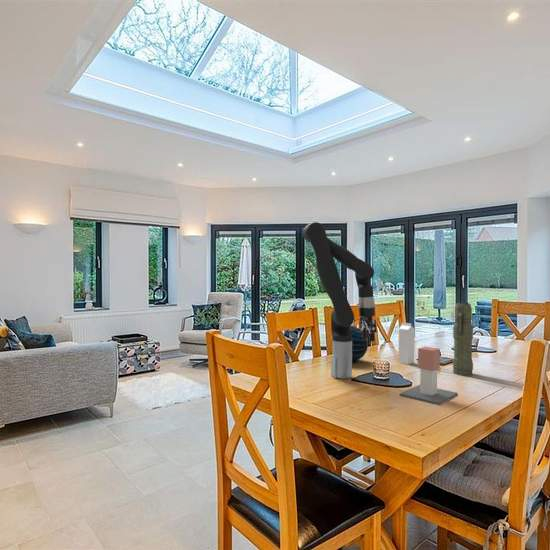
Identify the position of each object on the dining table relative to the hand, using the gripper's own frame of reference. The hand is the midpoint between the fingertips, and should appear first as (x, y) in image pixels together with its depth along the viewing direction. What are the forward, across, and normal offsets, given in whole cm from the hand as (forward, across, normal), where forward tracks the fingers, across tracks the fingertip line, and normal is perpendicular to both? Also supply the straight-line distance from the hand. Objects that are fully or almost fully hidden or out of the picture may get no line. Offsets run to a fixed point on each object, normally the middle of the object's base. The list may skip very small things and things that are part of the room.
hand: (368, 339), depth 190 cm
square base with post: (+18, +33, +10) cm, 39 cm away
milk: (+20, -22, +30) cm, 42 cm away
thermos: (+21, +4, +46) cm, 51 cm away
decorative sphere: (+18, -30, 0) cm, 35 cm away
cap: (+7, +33, +11) cm, 36 cm away
